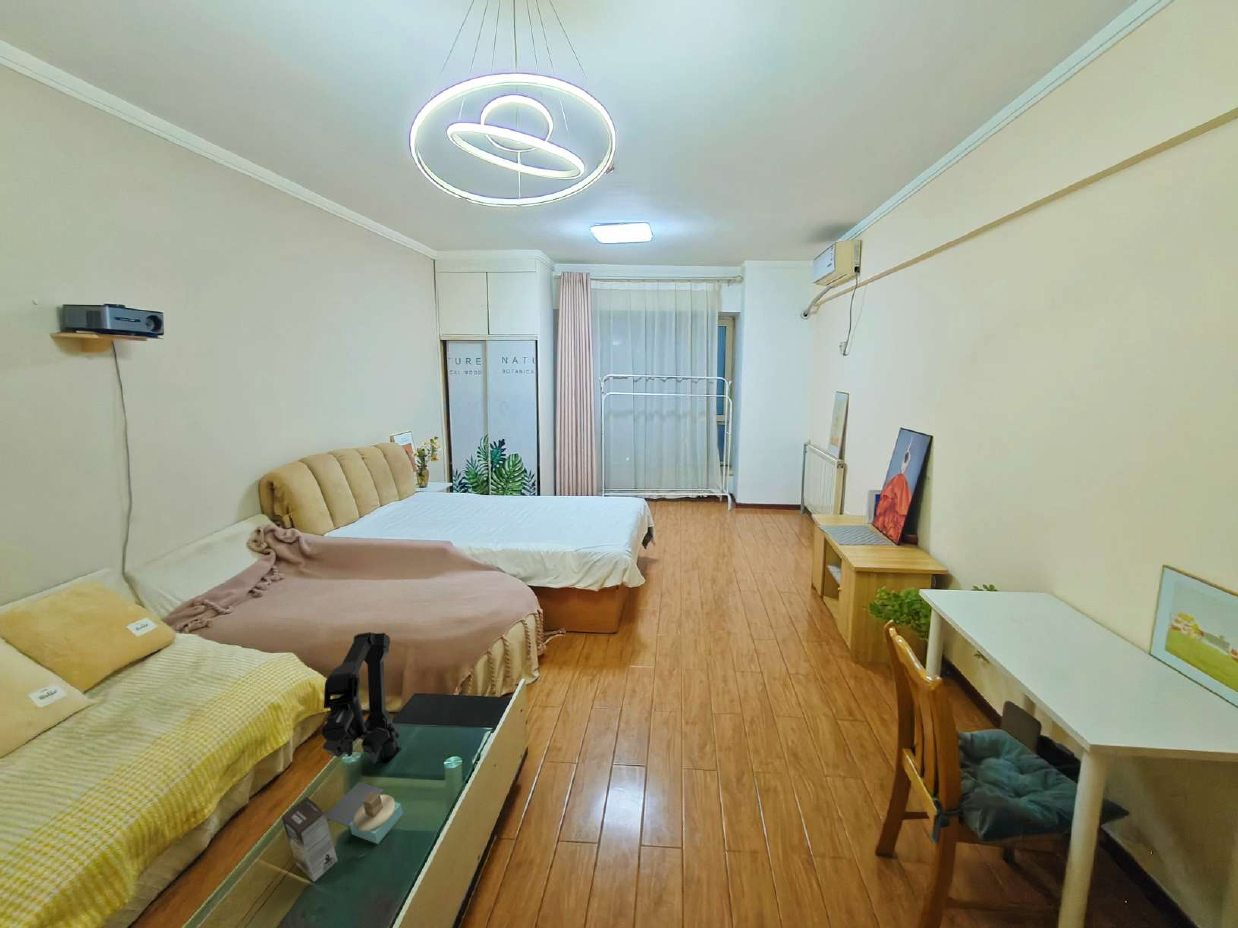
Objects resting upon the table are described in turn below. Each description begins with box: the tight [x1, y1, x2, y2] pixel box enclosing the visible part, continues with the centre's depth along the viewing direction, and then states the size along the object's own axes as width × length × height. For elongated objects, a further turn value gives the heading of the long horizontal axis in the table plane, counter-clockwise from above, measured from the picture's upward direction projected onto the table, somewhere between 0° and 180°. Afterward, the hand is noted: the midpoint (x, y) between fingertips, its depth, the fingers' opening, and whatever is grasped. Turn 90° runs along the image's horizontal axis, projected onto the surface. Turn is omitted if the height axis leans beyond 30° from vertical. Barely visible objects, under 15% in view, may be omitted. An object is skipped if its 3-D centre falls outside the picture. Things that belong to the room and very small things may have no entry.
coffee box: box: [281, 796, 338, 882], centre depth 128 cm, size 9×6×16 cm
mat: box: [325, 781, 385, 828], centre depth 146 cm, size 12×10×1 cm
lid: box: [354, 792, 396, 831], centre depth 138 cm, size 10×10×5 cm
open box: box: [349, 801, 404, 845], centre depth 139 cm, size 9×9×4 cm
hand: (362, 758), depth 146 cm, fingers open, 9 cm apart
